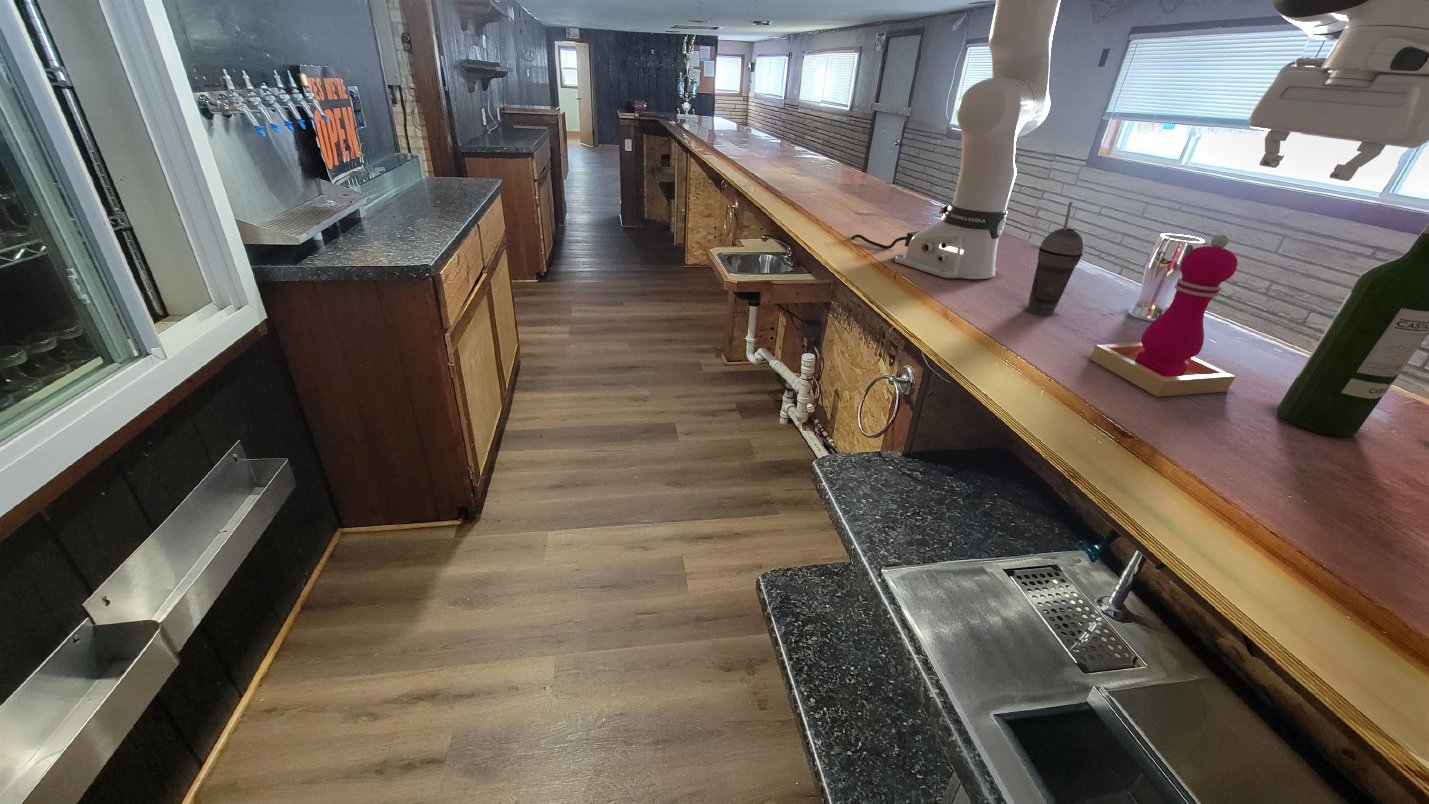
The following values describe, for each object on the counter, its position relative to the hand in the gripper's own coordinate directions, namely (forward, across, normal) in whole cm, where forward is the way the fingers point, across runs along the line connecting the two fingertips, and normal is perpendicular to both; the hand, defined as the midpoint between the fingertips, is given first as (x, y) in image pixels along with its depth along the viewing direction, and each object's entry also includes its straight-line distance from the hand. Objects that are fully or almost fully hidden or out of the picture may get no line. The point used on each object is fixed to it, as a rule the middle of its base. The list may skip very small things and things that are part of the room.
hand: (1301, 173), depth 79 cm
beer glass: (+28, -16, +8) cm, 34 cm away
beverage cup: (+30, -21, -11) cm, 39 cm away
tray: (+29, +6, -13) cm, 33 cm away
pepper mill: (+28, +6, -13) cm, 32 cm away
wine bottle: (+28, +21, -3) cm, 35 cm away
